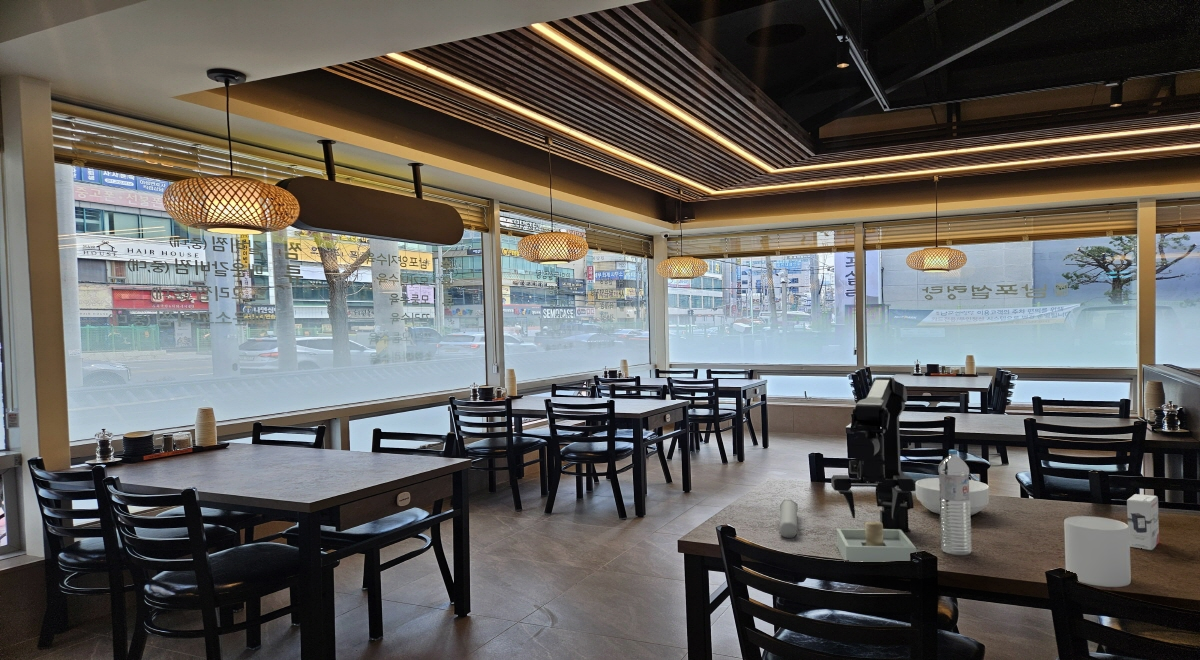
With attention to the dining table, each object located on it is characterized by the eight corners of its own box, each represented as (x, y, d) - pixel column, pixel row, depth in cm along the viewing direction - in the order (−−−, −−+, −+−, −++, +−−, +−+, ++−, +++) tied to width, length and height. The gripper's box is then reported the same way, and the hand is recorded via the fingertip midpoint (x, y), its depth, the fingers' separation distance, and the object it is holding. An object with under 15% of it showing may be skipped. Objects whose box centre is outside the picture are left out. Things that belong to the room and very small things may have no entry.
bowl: (1003, 513, 215) (1002, 484, 215) (966, 525, 204) (965, 495, 204) (939, 501, 231) (939, 475, 231) (902, 512, 220) (901, 484, 220)
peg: (881, 553, 181) (880, 521, 181) (885, 558, 177) (884, 525, 177) (864, 553, 182) (863, 521, 182) (867, 558, 178) (866, 525, 178)
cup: (1126, 591, 152) (1125, 533, 152) (1061, 579, 159) (1059, 524, 159) (1134, 576, 160) (1132, 521, 160) (1071, 565, 168) (1069, 513, 168)
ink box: (1135, 539, 186) (1134, 492, 186) (1160, 542, 183) (1158, 495, 183) (1127, 546, 180) (1126, 498, 180) (1152, 550, 177) (1151, 501, 177)
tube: (801, 525, 195) (800, 502, 219) (781, 518, 196) (782, 496, 221) (795, 544, 196) (795, 519, 220) (775, 537, 197) (777, 513, 221)
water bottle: (957, 557, 176) (954, 453, 176) (934, 550, 183) (931, 449, 183) (978, 553, 179) (974, 450, 179) (954, 546, 185) (951, 447, 185)
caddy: (901, 547, 186) (900, 529, 186) (916, 567, 170) (916, 547, 170) (837, 546, 188) (836, 528, 188) (846, 565, 173) (846, 546, 173)
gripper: (904, 449, 185) (906, 510, 185) (827, 449, 189) (829, 509, 189) (915, 456, 175) (917, 522, 174) (833, 456, 178) (835, 521, 178)
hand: (873, 518), depth 179 cm, fingers open, 9 cm apart
